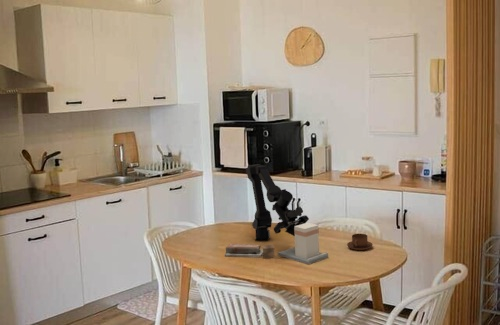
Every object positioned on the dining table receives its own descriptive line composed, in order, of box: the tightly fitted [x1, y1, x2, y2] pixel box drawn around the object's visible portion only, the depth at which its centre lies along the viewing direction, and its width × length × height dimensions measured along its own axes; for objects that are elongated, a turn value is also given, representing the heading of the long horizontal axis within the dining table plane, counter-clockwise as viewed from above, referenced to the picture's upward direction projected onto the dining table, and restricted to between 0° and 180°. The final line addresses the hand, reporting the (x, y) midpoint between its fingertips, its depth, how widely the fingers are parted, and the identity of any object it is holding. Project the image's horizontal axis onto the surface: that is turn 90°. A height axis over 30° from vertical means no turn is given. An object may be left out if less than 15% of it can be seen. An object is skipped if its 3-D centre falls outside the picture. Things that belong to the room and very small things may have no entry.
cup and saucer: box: [346, 233, 374, 251], centre depth 275 cm, size 12×12×6 cm
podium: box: [277, 246, 329, 265], centre depth 267 cm, size 20×13×2 cm, turn 40°
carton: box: [294, 222, 320, 259], centre depth 264 cm, size 7×9×14 cm
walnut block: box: [262, 244, 275, 259], centre depth 269 cm, size 5×5×5 cm
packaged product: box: [223, 243, 263, 259], centre depth 275 cm, size 18×5×10 cm
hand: (300, 238), depth 267 cm, fingers closed, pressing on carton
